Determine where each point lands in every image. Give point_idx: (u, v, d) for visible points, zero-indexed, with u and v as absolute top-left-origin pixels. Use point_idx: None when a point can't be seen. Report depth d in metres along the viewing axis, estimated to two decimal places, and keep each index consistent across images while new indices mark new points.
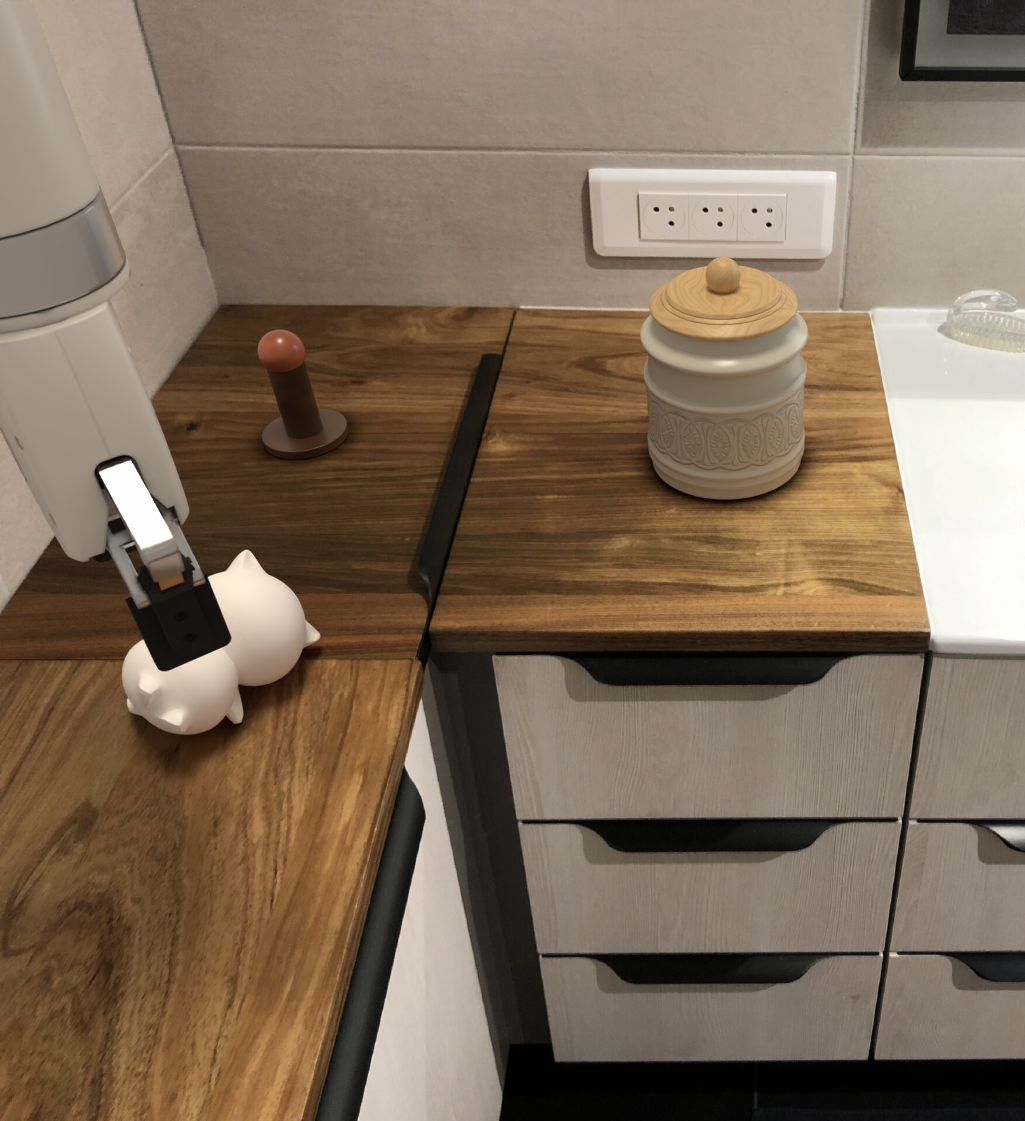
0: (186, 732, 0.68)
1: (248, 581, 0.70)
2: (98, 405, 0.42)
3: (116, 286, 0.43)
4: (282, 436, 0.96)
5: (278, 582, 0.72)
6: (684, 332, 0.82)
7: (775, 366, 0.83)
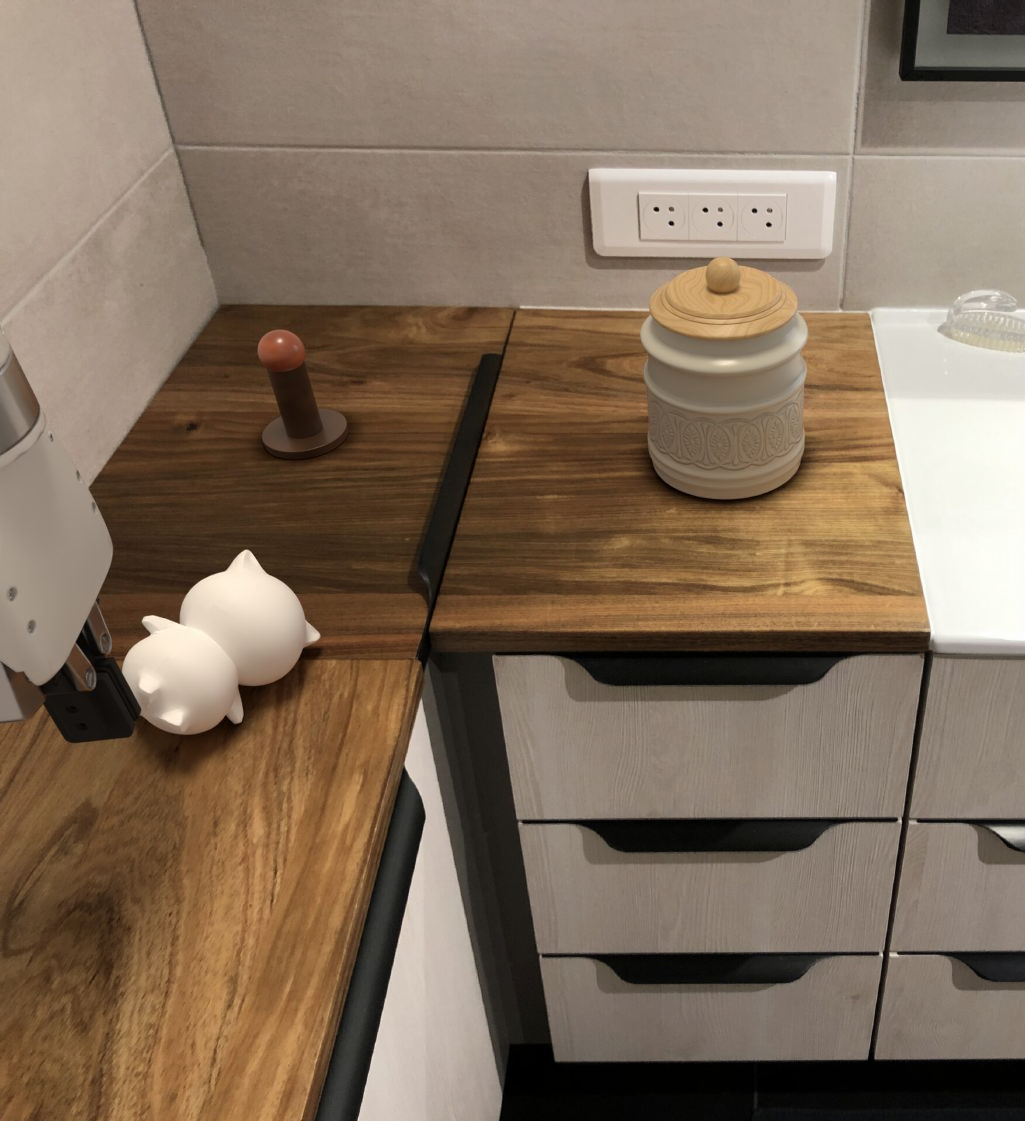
0: (186, 732, 0.68)
1: (248, 581, 0.70)
2: None
3: None
4: (282, 436, 0.96)
5: (278, 582, 0.72)
6: (684, 332, 0.82)
7: (775, 365, 0.83)
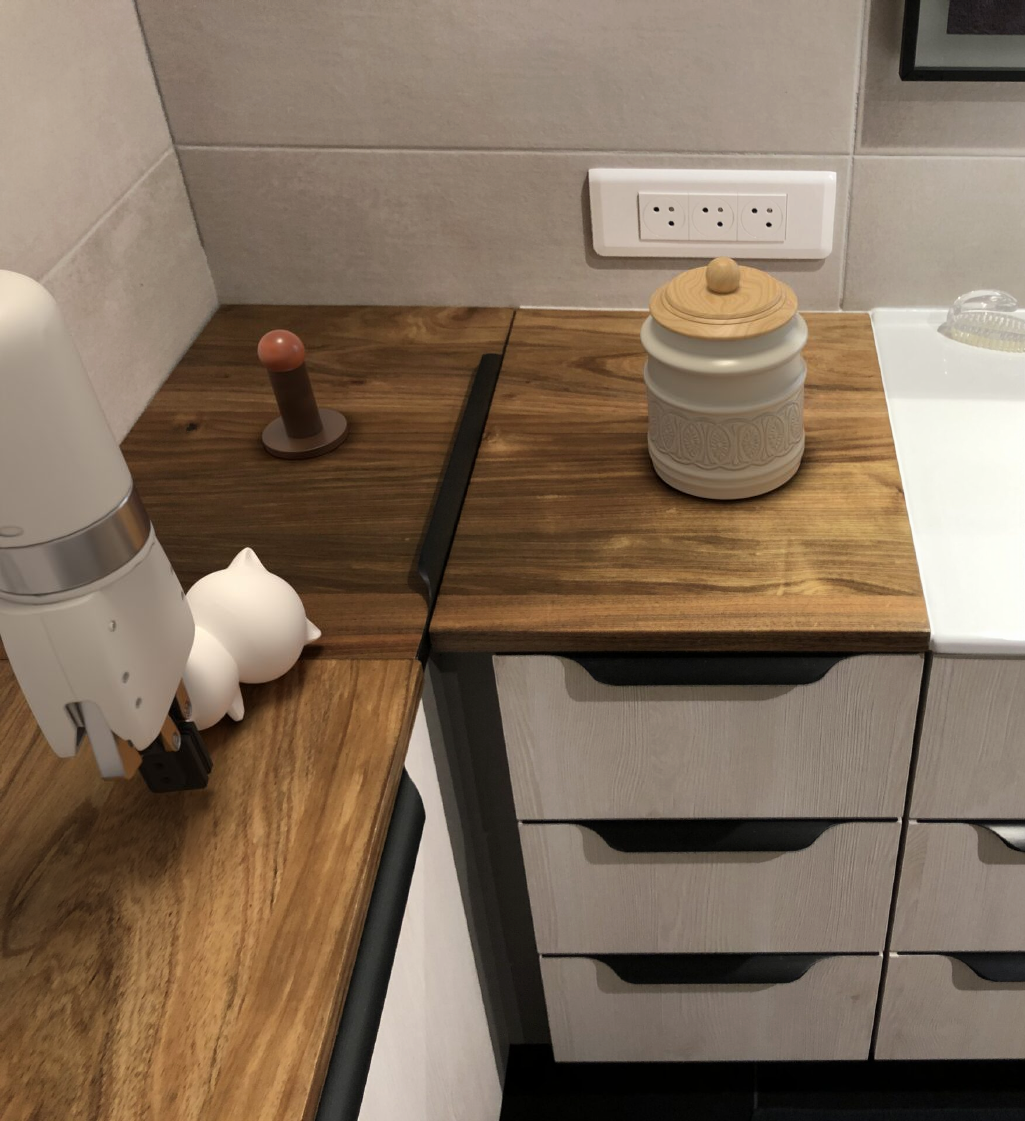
0: None
1: (249, 579, 0.71)
2: (68, 666, 0.53)
3: (111, 579, 0.53)
4: (282, 436, 0.96)
5: (279, 580, 0.73)
6: (684, 332, 0.82)
7: (775, 365, 0.83)
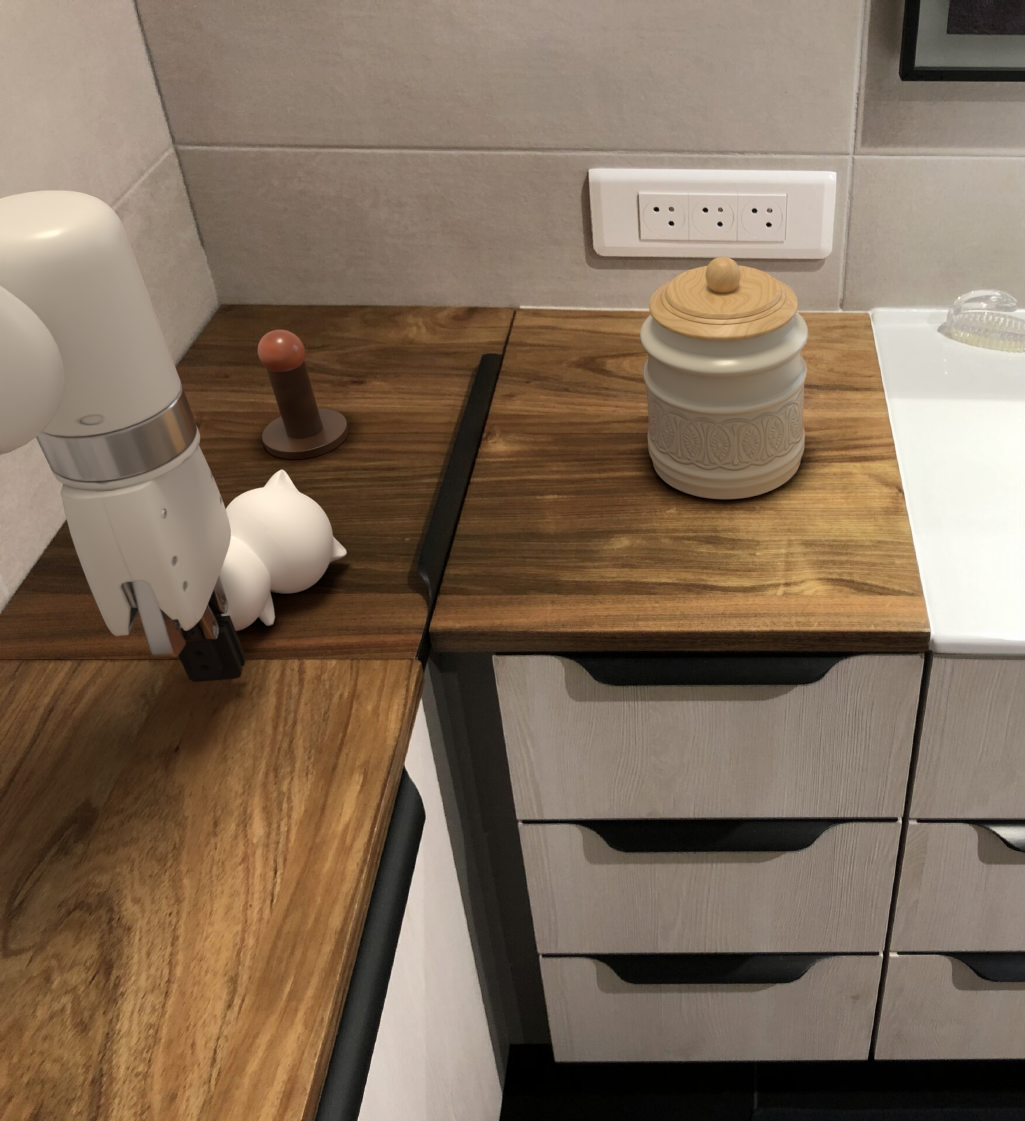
0: None
1: (281, 496, 0.77)
2: (126, 547, 0.60)
3: (163, 470, 0.60)
4: (282, 436, 0.96)
5: (309, 499, 0.79)
6: (684, 332, 0.82)
7: (775, 365, 0.83)
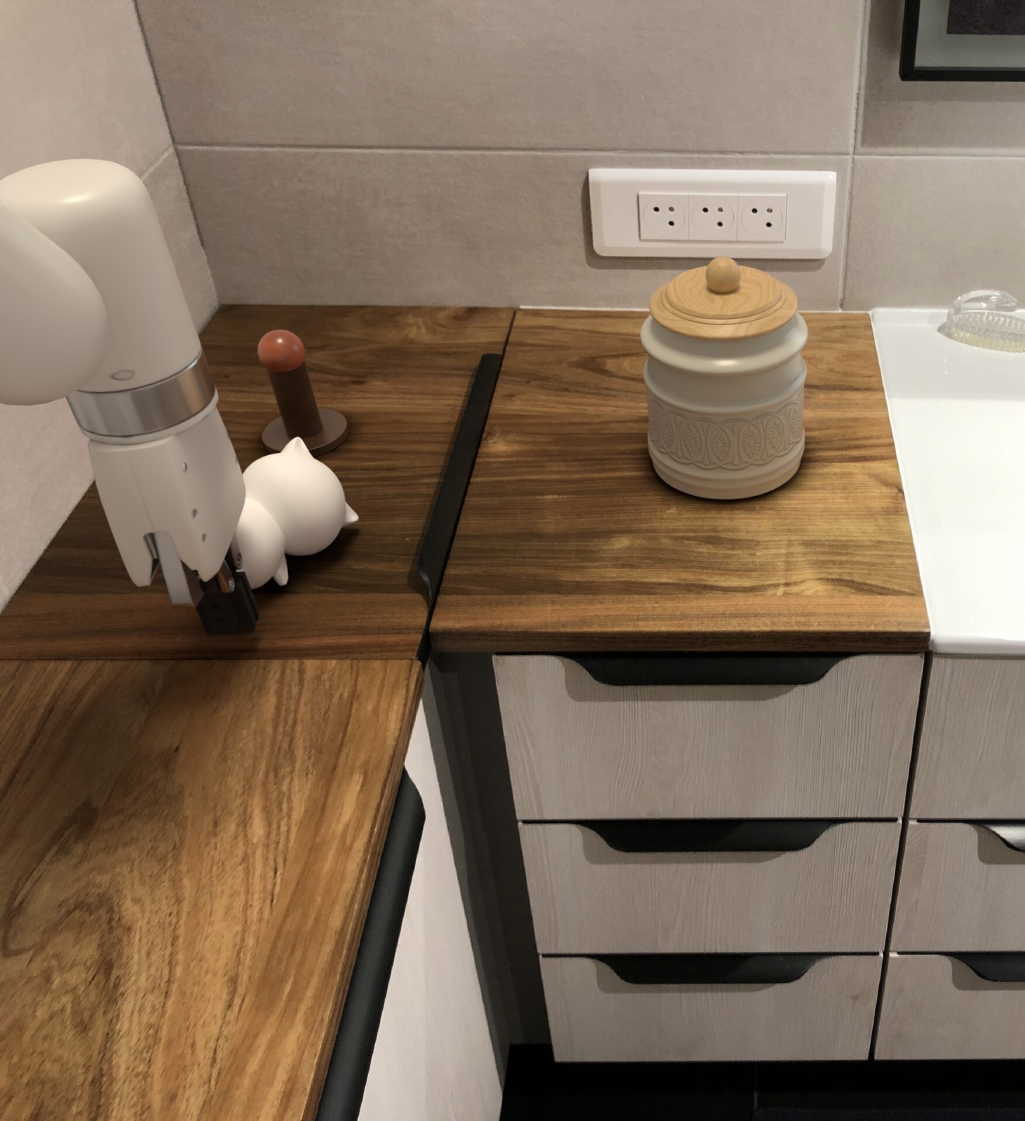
0: None
1: (296, 461, 0.81)
2: (149, 499, 0.64)
3: (184, 426, 0.63)
4: (282, 436, 0.96)
5: (323, 465, 0.83)
6: (684, 332, 0.82)
7: (775, 365, 0.83)
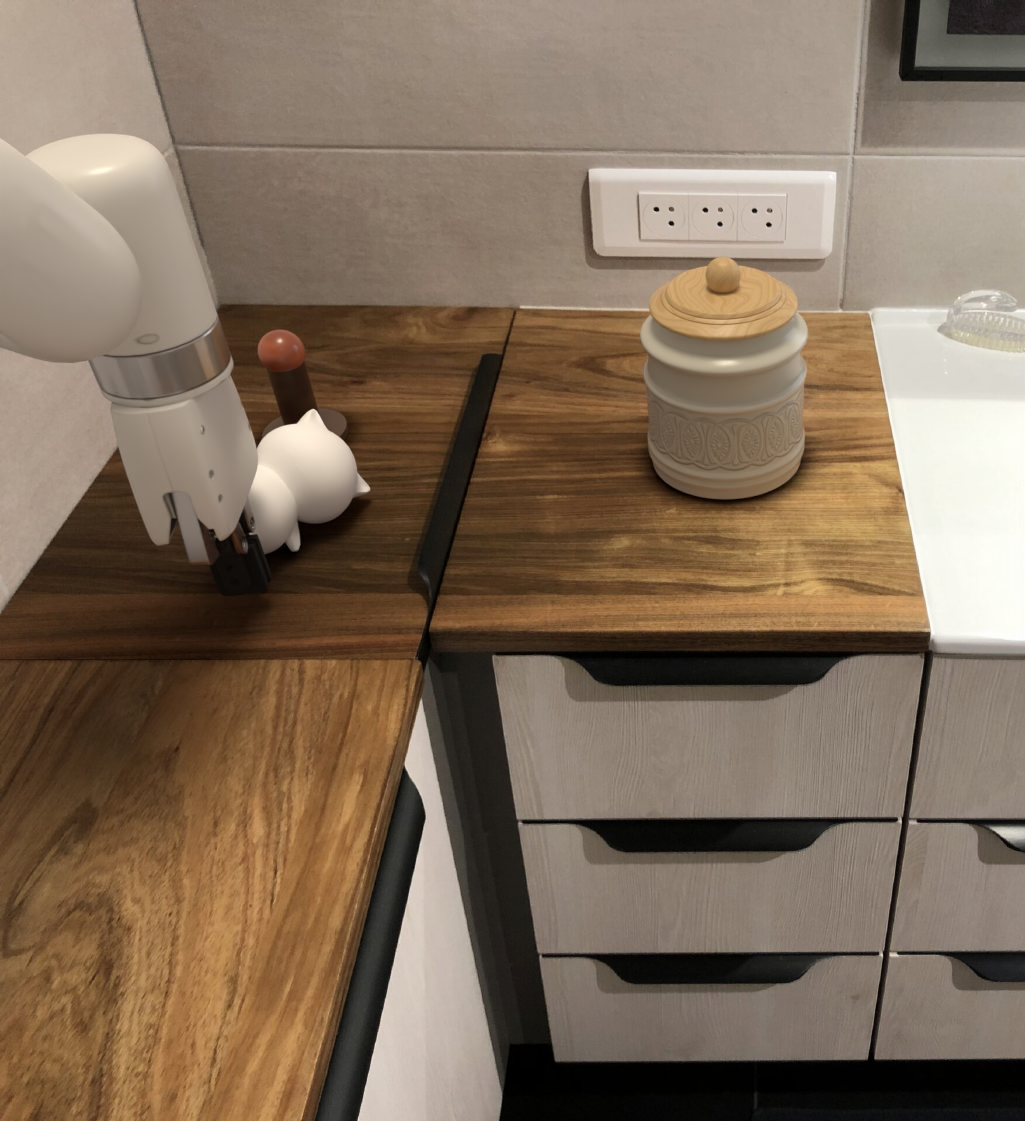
0: None
1: (310, 431, 0.84)
2: (168, 460, 0.67)
3: (202, 390, 0.67)
4: None
5: (336, 437, 0.86)
6: (684, 332, 0.82)
7: (775, 365, 0.83)
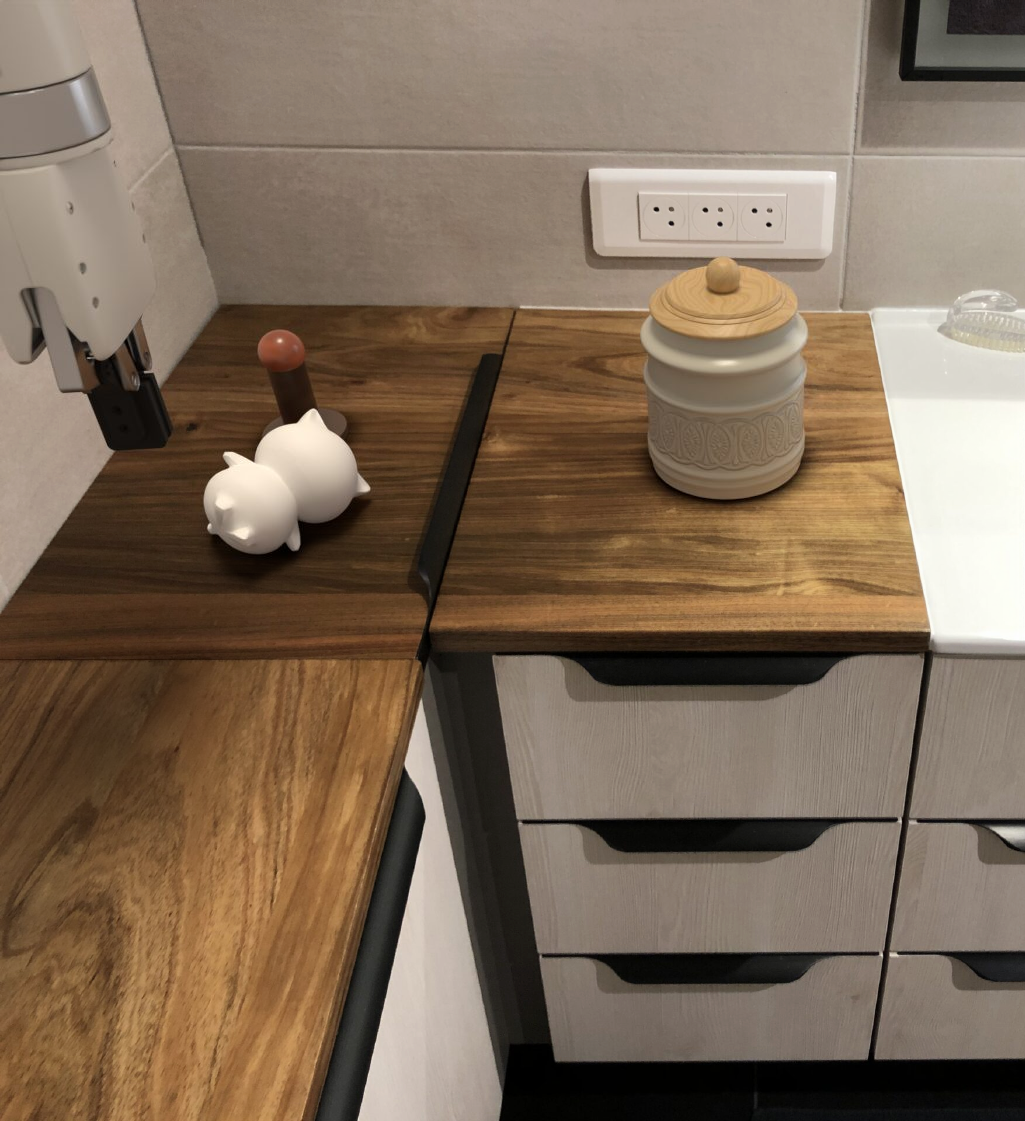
0: (251, 550, 0.82)
1: (311, 431, 0.84)
2: (24, 242, 0.53)
3: (69, 155, 0.53)
4: None
5: (337, 436, 0.86)
6: (684, 332, 0.82)
7: (775, 365, 0.83)
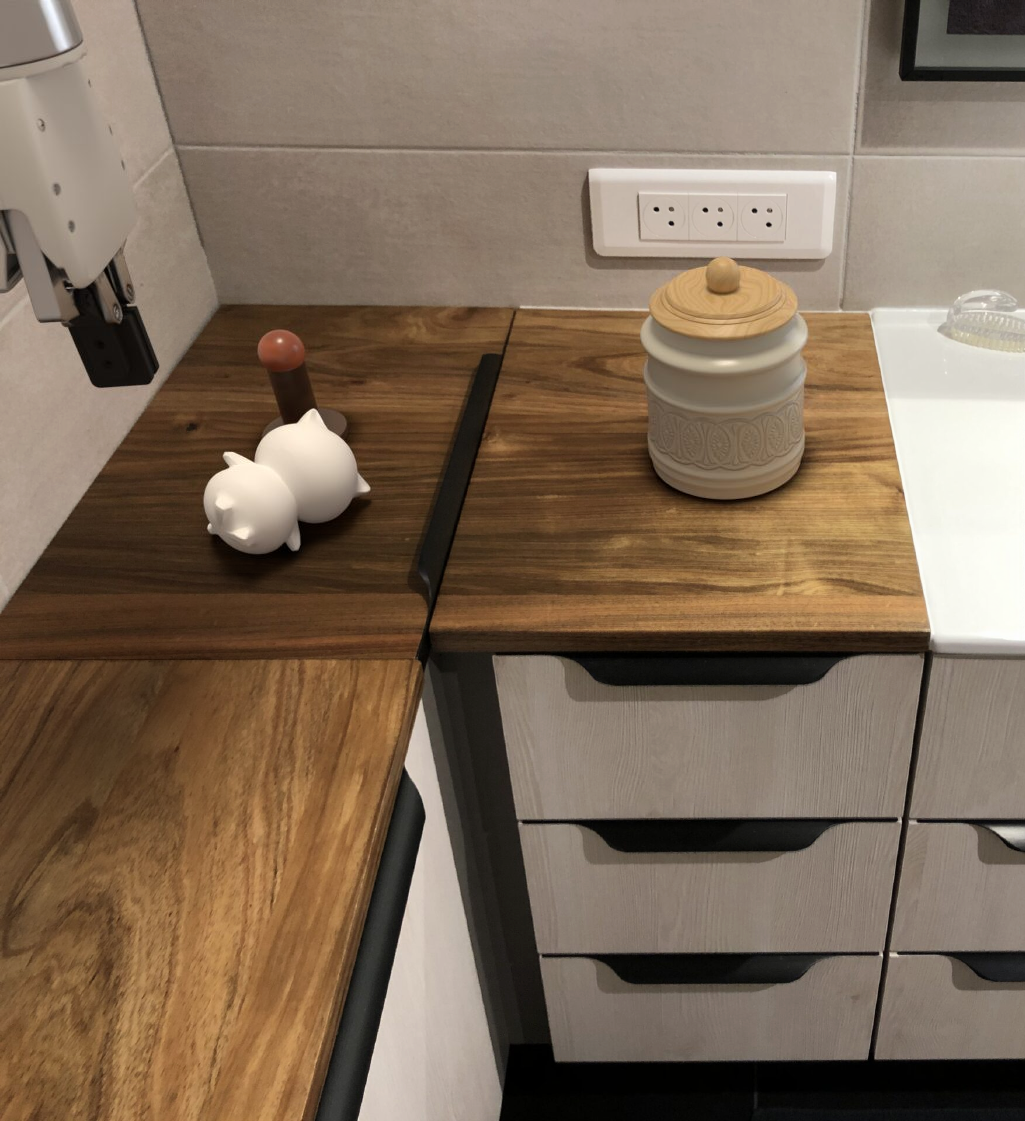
0: (251, 550, 0.82)
1: (311, 431, 0.84)
2: None
3: (38, 68, 0.51)
4: None
5: (337, 436, 0.86)
6: (684, 332, 0.82)
7: (775, 365, 0.83)
